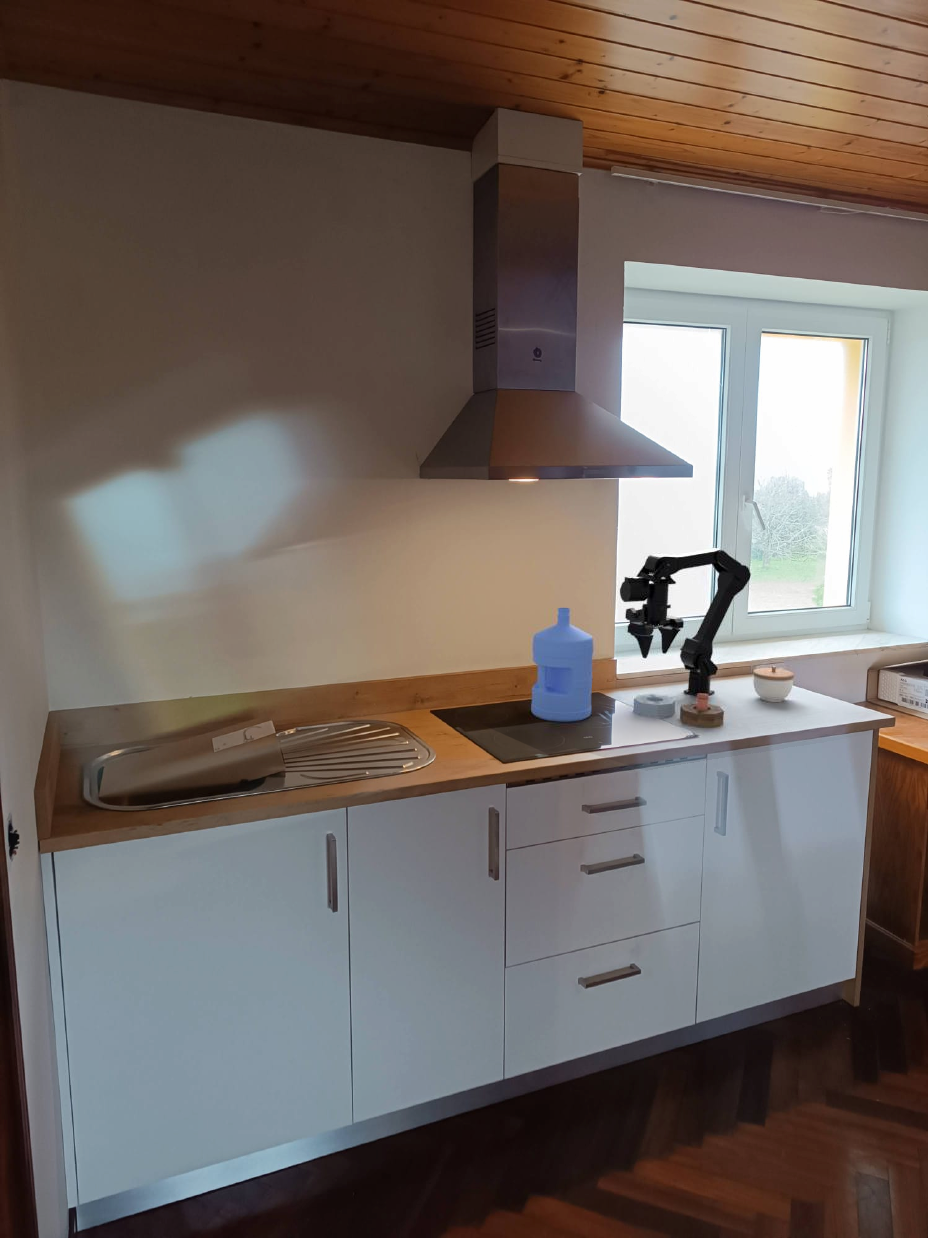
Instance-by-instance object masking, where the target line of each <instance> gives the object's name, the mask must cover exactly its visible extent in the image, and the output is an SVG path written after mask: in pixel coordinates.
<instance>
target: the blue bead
mask: <svg viewBox="0 0 928 1238" xmlns="http://www.w3.org/2000/svg"><path fill="white" fill-rule="evenodd" d="M632 710H633V712H634V713H635V714H637V715H639V716H641V717H647V718H655V719H659V718H660V719H662V718H669V717H670V718H671V717H672V716H674V714H675V713H676V699H674V698H672V697H670V696H668V695H663V694H653V693H648V694H637V695H636V696H635V697H634V698H633V709H632Z"/></svg>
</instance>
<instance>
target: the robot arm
mask: <svg viewBox="0 0 928 1238" xmlns="http://www.w3.org/2000/svg"><path fill="white" fill-rule="evenodd" d="M709 565H711V566H712V567H713V568H714V569H713V570H715V571H716V573H718V576H717V580H716V583H717V589H716V590H717V591H716V592H715V595H714V597H713V599H712V601H711V603H710V605H709V606H708V607H709V608H708V609H707V612H706V613H705V616H704V617H703V620H702V622H701V624H700V626H699V628H698V630H697V632H696V634H695V635H694V636H693V637H692V638H690V637H686V638H685V639H684V641H683V645H682V647H681V648H680V649H679V650H680V655H679V658H680V661H681V662H682V664H683V666H684V670H686V671H689V673H688V682H687V683H688V686H687V687H688V688H687V689H684V690H683V693H686V694H691V695H694V696H697V694H699V693H703V694H708V695H712V694H715V690H711V679H712V678H711V677H712V676H714V675H715V676H716V675H717V672H718V670H719V667H718V666H717V665H716V664H715V663H714V661H712V657H713V653H714V649H713V648H714V646H713V645H714V644H713V642H714V640H715V638H716V635H717V634H718V632H719V629H720V627H721V625H722V623H723V621H724V619H725V616H726V614H727V613H728V610H729V608H730V606H731V604H732V602H733V600H734V598H735V597H736V596H737V595H738V594H739V593H740V592H742V591H743V590H744V589H745V587H746V586H747V584H748V583H749V581H750V579H751V575H752V574H751V569H750V568H749V567H748V566H747V565H745V564H742V563H741V562H739V561H738V560H737V559H735V558H734V557H732V556H730V555H729V554H728V553H727V552H726V551H725V550H723V549H722V548H721V549H720V548H713V547H712V548H710V549H706V550H705V549H704V550H698V551H694V552H693V551H692V552H688V553H681V554H659V553H658V554H657V553H653V554H650V555H648V556H647V558H646V560H645V562H644V565H643V566H642V568H641V569H640V570H639V572H638V573H637V574H636V576H632V577H631V576H624V581H623V582H622V583H621V586H620V588H619V595H620V599H621V600H622V601H623V602H624V603H631V602H632V603H633V602H634V603H635V602H645V603H643V604H642V606H641V608H640V609H637V610H636V609H635V608H634V607H629V608H626V609H625V615H624V616H625V617H624V618H625V619H626V620H627V621H629V624H628V625H627V629H626V630H627V633H628V634H630V635H631V636H633V638H635V639H636V642H637V643H638V647H639V650H640V652H641V657H642V658H643V659H647V658H648V655H649V653H650V649H651V645H652V642H653V639H654V636H655V635H654V634H653V633H654V630H656V629H658V631H659V633H660V635H661V636H660V637H661V652H662V654H663V655H664V654H667V653H668V651H669V649H670V648H671V646H672V644H673V641H674V640H675V639H676V637H677V635H678V634H679V633H680V632H681V629H683V628H684V624H685V621H684V620H683V618H682V617H680V616H672V615H668V609H671V607H672V605H671V604H669V586H670V585H676V584H677V582H676V581H675V580H674V579H673V577H672V575H675V574H677V573H678V572H680V571H682V570H687V569H693V568H696V567H697V568H698V567H703V566H709Z"/></svg>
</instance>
